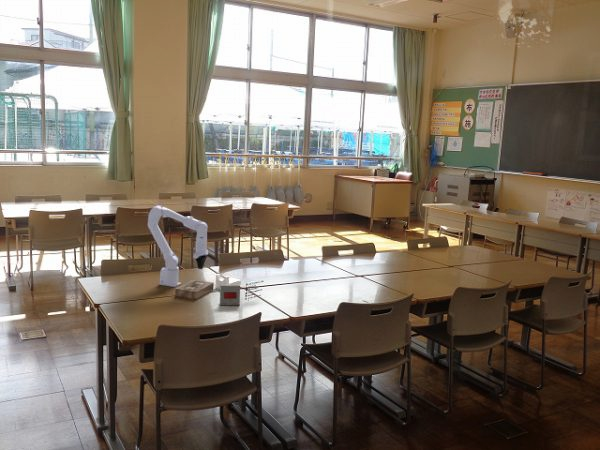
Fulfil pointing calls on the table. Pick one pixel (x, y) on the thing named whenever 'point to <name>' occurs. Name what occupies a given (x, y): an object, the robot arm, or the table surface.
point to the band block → (196, 292)
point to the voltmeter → (233, 294)
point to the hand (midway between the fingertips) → (200, 268)
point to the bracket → (226, 281)
